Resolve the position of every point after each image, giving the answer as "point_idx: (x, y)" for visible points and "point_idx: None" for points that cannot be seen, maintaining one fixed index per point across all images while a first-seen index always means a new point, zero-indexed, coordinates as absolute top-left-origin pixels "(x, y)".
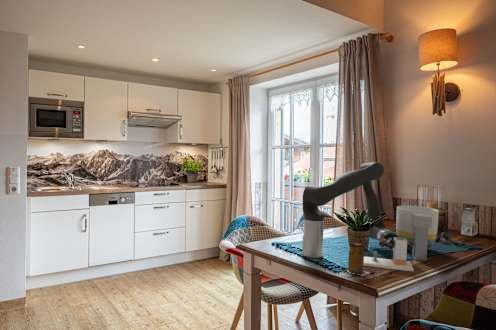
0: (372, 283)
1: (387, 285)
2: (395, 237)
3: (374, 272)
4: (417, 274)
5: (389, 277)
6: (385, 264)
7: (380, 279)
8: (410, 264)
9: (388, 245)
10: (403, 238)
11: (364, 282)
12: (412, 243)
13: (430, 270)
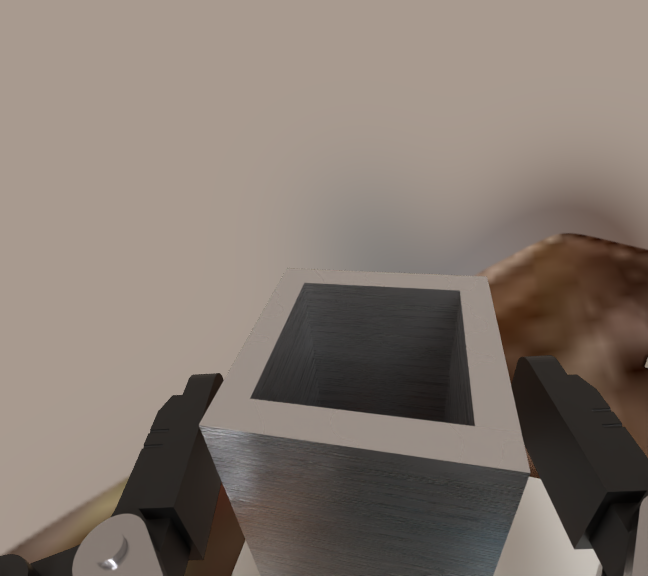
0: (589, 263)
1: (515, 258)
2: (478, 440)
3: (621, 384)
4: None
5: (503, 327)
6: (551, 514)
7: (556, 300)
8: (246, 560)
9: (599, 399)
10: (259, 401)
11: (633, 265)
12: (15, 558)
13: (109, 497)
